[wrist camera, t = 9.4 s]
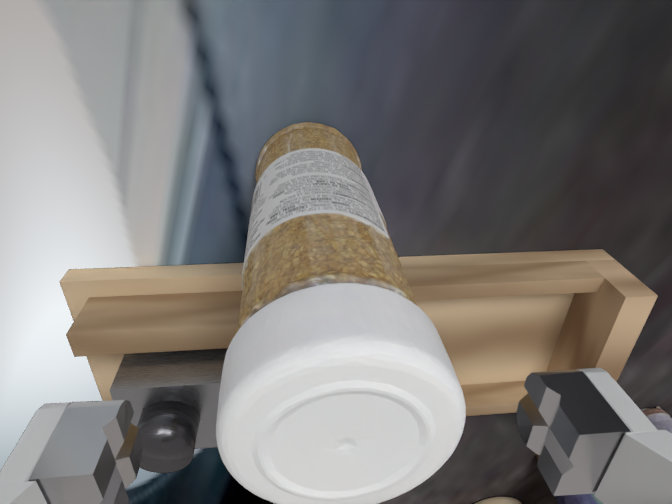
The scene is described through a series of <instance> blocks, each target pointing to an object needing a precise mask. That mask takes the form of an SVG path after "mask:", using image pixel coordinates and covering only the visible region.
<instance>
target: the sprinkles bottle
mask: <svg viewBox="0 0 672 504" xmlns="http://www.w3.org/2000/svg"><path fill="white" fill-rule="evenodd" d="M255 175H256V183H257V185H256V187H255V190H254V194H253V200H252V207H251V214H250V222H249V229H248V236H247V244H246V251H245V258H244V264H243V271H242V298H241V305H240V315H239V325H238V328H237V330H236V334H235V336H234V337H233V339H232V341H231V343H230V345H229V347H228V350H227V352H226V355H225V360H224V364H223V370H222V377H221V384H220V391H219V400H218V410H217V419H216V440H217V447H218V450H219V453H220V456H221V459H222V461H223V463H224V465H225V466H226V468H227V470H228V471H229V472H230V474H231V475H232V476H233V477H234V478H235V479H236V480H237V481H238V482H239V483H240V484H241V485H242V486H243V487H244V488H246V489H247V490H249V491H250V492H252V493H253V494H255V495H257V496H259V497H261V498H263V499H265V500H268V501H270V502H273V503H276V504H378V503H381V502H384V501H387V500H390V499H392V498H395V497H397V496H399V495H401V494H403V493H405V492H408V491H410V490H411V489H413V488H415V487H416V486H418V485H419V484H421V483H423V482H424V481H425V480H427V479H428V478H429V477H431V476H432V475H433V474H434V473H435V472H436V471H437V470H438V469H439V468H440V467H442V465H443V464H444V463H445V462H446V461H447V460H448V459H449V457H450V456H451V455H452V453H453V452H454V450H455V448H456V446H457V444H458V443H459V440H460V438H461V435H462V433H463V429H464V424H465V418H466V405H465V399H464V395H463V391H462V388H461V385H460V383H459V380H458V378H457V376H456V373H455V371H454V368H453V366H452V363H451V361H450V359H449V356H448V354H447V352H446V349H445V347H444V345H443V342H442V340H441V338H440V336H439V334H438V331H437V329H436V327H435V326H434V324H433V322H432V321H431V320H430V318H429V317H428V316H427V315H426V314H425V313H424V312H423V311H422V310H421V308H419V307H418V306H417V304H416V301H415V298H414V296H413V294H412V292H411V290H410V287H409V284H408V282H407V280H406V277H405V275H404V272H403V269H402V266H401V262H400V260H399V258H398V255H397V254H396V251H395V249H394V247H393V244H392V241H391V238H390V236H389V234H388V231H387V227H386V222H385V220H384V217H383V214H382V212H381V210H380V208H379V205H378V203H377V201H376V198H375V196H374V194H373V191H372V189H371V186H370V184H369V182H368V180H367V178H366V176H365V175H364V173H363V172H362V169H361V162H360V159H359V157H358V154H357V152H356V150H355V148H354V147H353V145H352V144H351V142H350V141H349V140H348V139H347V138H346V137H345V136H344V135H342V134H341V133H340V132H339V131H337V130H336V129H335V128H332V127H329V126H326V125H323V124H319V123H311V122H304V123H298V124H292V125H290V126H288V127H286V128H283V129H281V130H280V131H278V132H277V133H276V134H275V135H273V136H272V137H271V138H270V139H269V140H268V142H267V143H266V144H265V145H264V147H263V148H262V150H261V152H260V155H259V158H258V161H257V165H256V172H255Z"/></svg>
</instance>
